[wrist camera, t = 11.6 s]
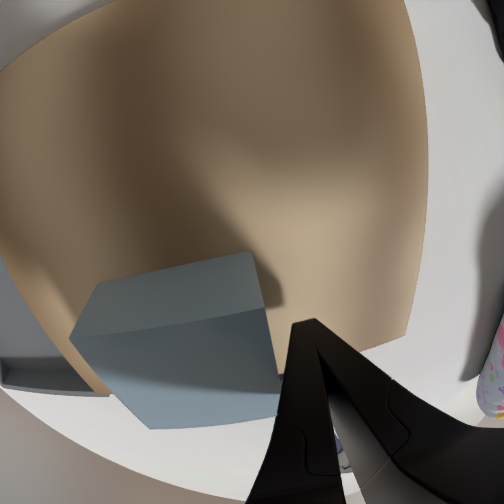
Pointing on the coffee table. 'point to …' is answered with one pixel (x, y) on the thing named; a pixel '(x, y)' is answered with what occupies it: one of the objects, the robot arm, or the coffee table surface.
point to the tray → (32, 350)
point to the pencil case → (493, 378)
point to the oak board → (220, 159)
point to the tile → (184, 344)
